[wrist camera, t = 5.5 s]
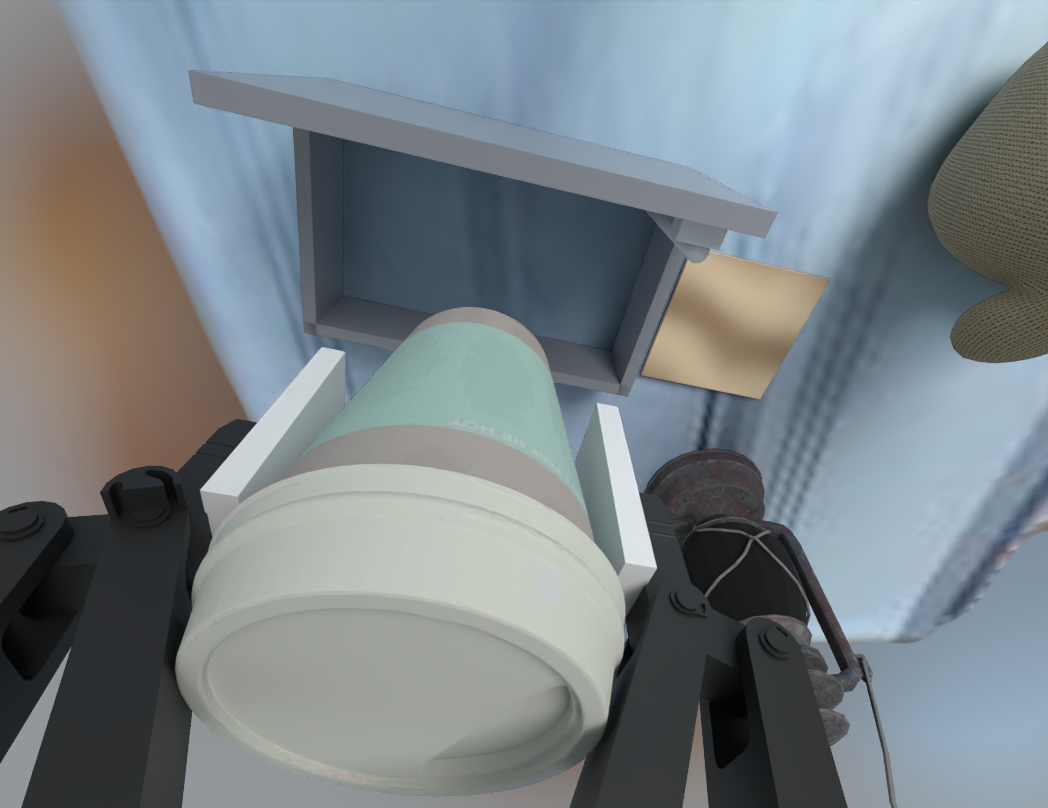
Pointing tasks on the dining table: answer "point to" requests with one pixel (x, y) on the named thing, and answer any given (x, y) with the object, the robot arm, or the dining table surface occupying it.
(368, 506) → the coffee cup
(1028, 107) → the bear
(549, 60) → the dining table surface
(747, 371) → the cork pad
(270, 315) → the dining table surface
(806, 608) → the lantern
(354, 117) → the case
